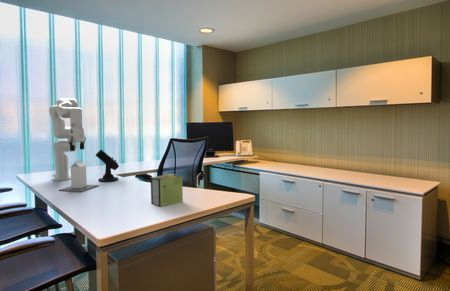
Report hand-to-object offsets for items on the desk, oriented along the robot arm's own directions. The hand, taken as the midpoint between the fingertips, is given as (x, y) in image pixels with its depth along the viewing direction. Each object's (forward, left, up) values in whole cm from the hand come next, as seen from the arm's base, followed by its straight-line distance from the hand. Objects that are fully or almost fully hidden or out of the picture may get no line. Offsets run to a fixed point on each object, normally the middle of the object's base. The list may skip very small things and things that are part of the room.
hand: (77, 150), depth 208 cm
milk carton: (0, 0, -27) cm, 27 cm away
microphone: (+3, +30, -28) cm, 41 cm away
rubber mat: (0, 0, -27) cm, 27 cm away
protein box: (+75, -21, -28) cm, 83 cm away
